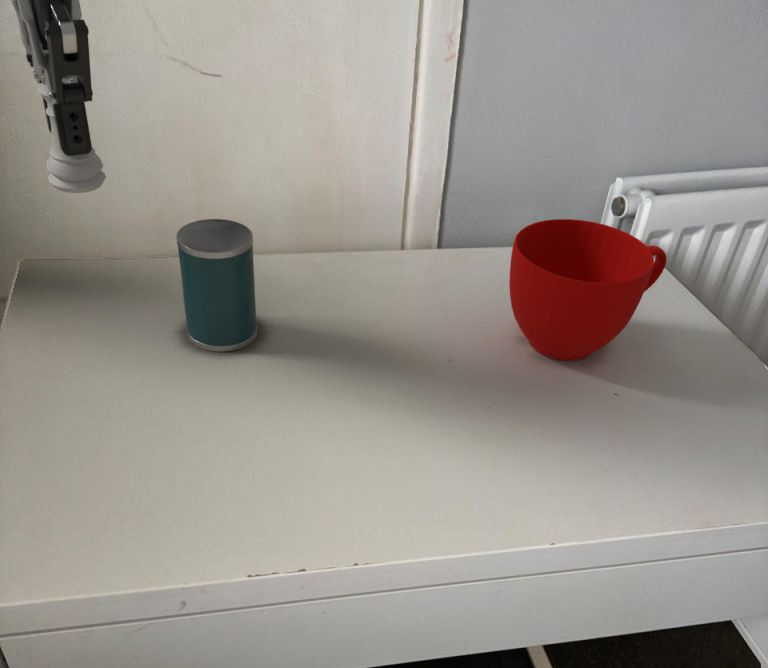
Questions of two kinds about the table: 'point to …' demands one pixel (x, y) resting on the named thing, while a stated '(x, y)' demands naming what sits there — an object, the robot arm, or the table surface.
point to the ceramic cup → (578, 284)
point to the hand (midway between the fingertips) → (70, 143)
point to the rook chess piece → (70, 158)
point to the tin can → (218, 283)
